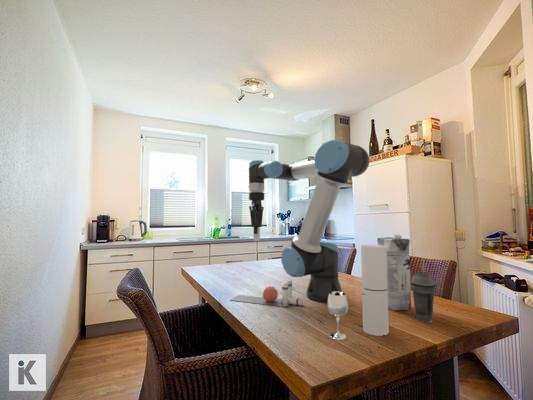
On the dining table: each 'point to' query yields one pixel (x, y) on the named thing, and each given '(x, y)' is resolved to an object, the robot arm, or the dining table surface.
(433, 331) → the dining table surface
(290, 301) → the pin front
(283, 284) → the pin back left
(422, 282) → the beverage cup
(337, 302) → the wineglass
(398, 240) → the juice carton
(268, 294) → the ball
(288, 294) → the pin back right
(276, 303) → the grey flat board
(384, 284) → the cylindrical container
